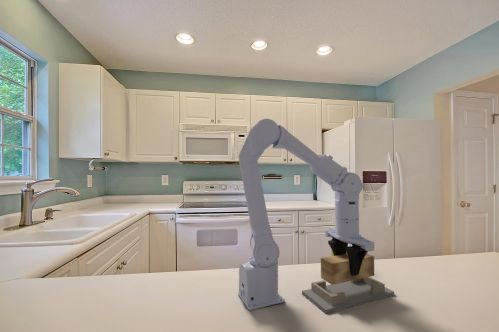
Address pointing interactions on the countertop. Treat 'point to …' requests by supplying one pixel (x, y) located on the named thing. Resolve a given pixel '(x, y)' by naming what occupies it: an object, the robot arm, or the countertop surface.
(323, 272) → the oak slat
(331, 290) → the cap board
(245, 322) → the countertop surface
